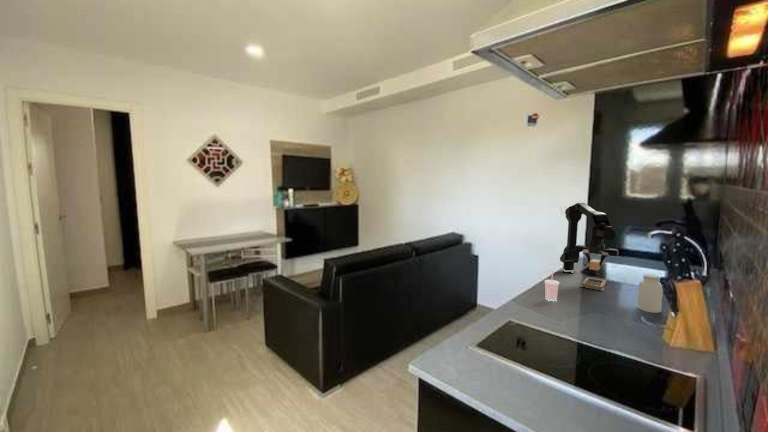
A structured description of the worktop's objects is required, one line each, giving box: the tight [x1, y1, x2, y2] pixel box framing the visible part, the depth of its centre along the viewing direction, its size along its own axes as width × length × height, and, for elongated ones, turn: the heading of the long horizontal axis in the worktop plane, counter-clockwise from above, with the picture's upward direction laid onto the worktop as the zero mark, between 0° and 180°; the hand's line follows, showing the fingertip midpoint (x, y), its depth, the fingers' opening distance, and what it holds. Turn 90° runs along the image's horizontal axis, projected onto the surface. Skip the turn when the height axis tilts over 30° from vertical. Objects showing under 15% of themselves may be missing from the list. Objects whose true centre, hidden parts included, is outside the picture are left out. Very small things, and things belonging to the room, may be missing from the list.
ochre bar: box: [588, 258, 602, 271], centre depth 172 cm, size 8×4×4 cm, turn 139°
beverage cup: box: [544, 270, 560, 303], centre depth 152 cm, size 6×6×14 cm
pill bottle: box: [637, 273, 664, 314], centre depth 140 cm, size 8×8×15 cm
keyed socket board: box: [581, 277, 607, 292], centre depth 173 cm, size 16×10×2 cm, turn 139°
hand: (595, 266), depth 172 cm, fingers closed on ochre bar, 4 cm apart
